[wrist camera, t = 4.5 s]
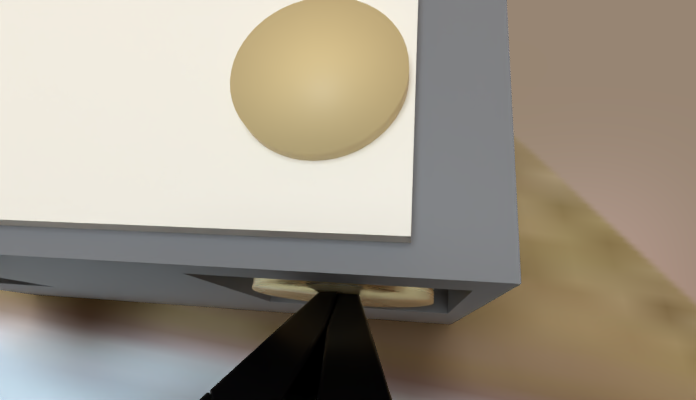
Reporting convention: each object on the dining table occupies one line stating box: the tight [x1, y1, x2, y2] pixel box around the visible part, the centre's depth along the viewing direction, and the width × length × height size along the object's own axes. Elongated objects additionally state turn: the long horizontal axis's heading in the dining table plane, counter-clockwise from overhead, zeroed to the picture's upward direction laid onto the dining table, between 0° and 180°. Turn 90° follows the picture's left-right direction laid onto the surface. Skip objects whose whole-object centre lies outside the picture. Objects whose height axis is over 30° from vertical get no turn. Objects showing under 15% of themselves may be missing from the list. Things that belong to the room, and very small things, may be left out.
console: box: [0, 0, 521, 324], centre depth 13 cm, size 6×18×12 cm, turn 85°
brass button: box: [252, 278, 434, 307], centre depth 10 cm, size 3×4×4 cm
